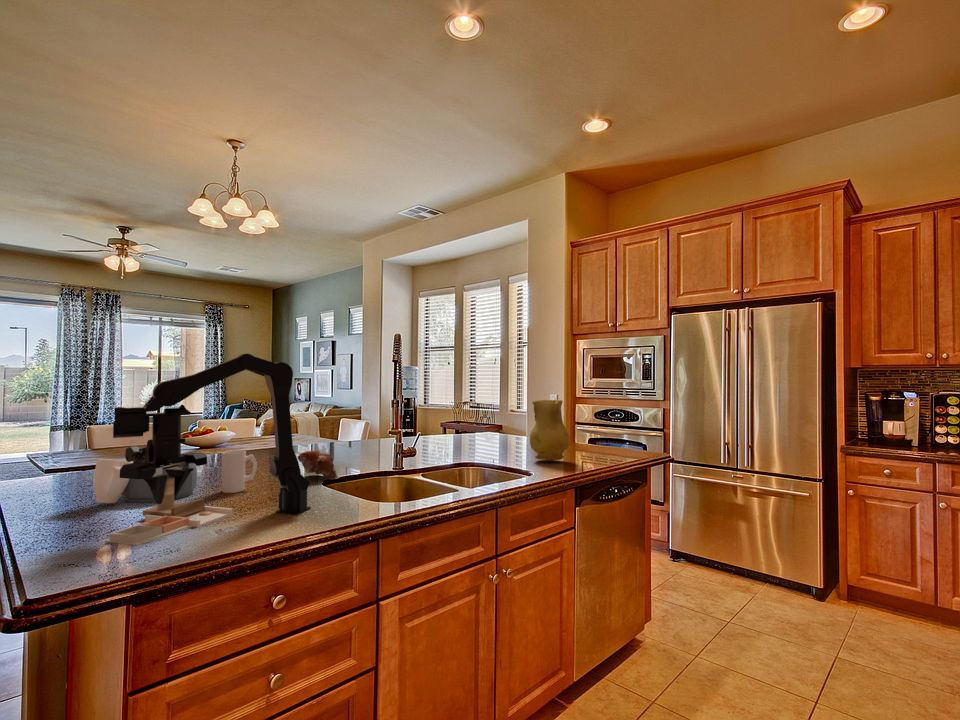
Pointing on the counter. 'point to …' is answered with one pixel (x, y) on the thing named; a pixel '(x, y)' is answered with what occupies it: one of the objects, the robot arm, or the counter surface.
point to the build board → (150, 530)
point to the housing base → (202, 515)
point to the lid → (178, 509)
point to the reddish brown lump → (318, 464)
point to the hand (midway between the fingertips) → (165, 501)
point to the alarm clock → (142, 493)
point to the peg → (168, 495)
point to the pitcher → (549, 430)
